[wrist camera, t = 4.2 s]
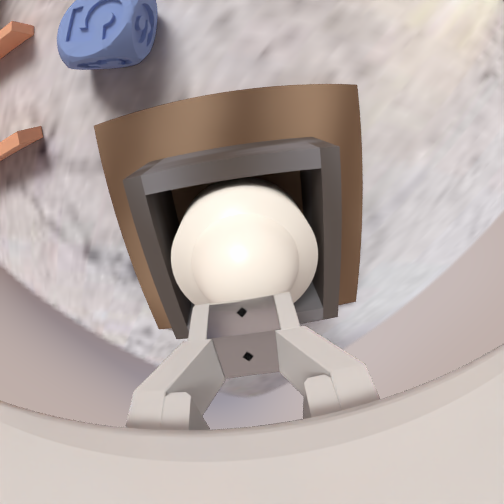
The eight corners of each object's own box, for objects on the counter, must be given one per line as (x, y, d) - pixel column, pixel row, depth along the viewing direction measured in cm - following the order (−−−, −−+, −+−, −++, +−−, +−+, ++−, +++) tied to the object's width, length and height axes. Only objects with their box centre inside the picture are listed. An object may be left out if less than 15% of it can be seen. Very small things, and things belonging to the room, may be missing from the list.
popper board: (349, 85, 13) (396, 80, 8) (351, 293, 19) (377, 341, 15) (101, 124, 13) (52, 134, 8) (161, 320, 20) (148, 372, 15)
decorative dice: (98, 13, 9) (66, -5, 6) (162, 4, 10) (142, -23, 6) (88, 72, 11) (50, 66, 8) (151, 65, 12) (125, 52, 8)
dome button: (300, 168, 12) (332, 198, 8) (306, 280, 15) (328, 338, 11) (168, 189, 12) (138, 227, 8) (196, 295, 15) (187, 357, 11)
